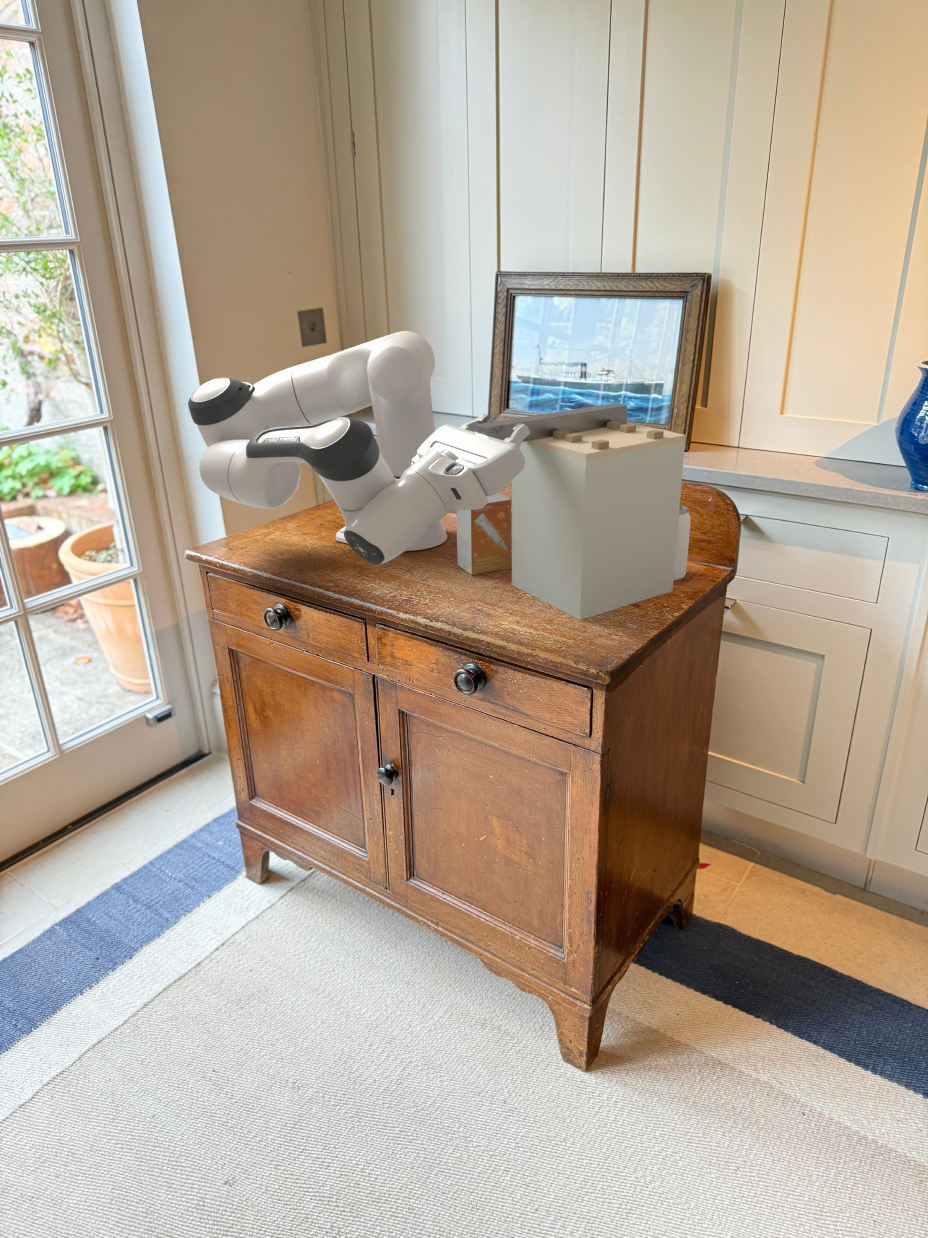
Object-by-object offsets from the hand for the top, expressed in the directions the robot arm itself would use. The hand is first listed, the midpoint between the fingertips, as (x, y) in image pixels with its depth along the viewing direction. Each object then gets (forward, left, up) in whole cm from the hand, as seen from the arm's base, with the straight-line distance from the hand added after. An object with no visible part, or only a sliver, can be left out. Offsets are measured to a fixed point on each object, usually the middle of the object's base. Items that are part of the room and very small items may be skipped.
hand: (506, 422), depth 127 cm
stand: (+11, +10, -29) cm, 33 cm away
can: (+21, +21, -29) cm, 42 cm away
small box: (-10, +12, -29) cm, 33 cm away
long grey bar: (+5, +8, -3) cm, 10 cm away
